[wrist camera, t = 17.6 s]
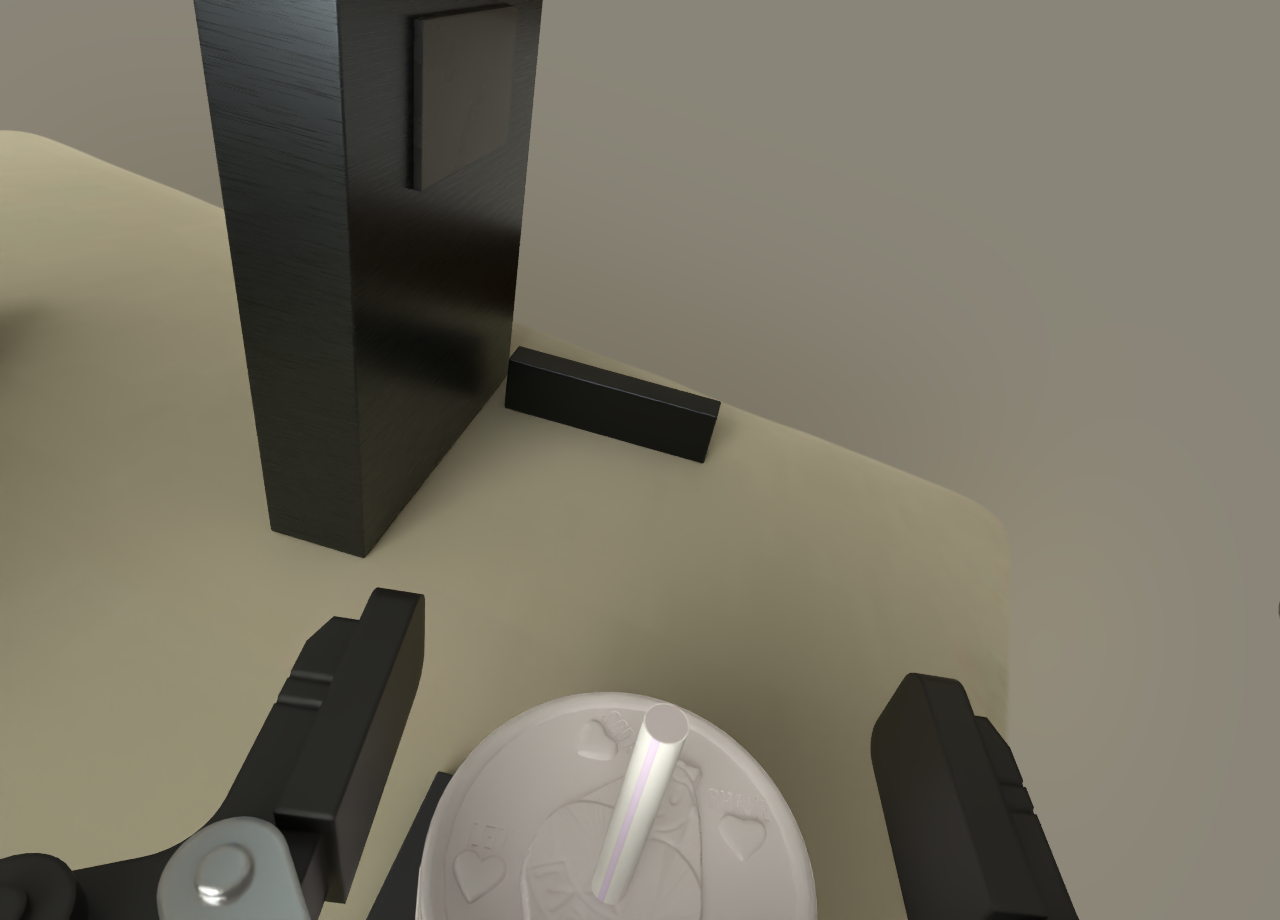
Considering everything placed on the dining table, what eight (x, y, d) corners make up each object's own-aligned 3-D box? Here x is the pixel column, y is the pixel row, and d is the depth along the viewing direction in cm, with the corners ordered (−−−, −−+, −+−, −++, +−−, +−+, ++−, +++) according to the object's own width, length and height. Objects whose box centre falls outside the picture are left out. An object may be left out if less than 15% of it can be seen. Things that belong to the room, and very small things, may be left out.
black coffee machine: (711, 431, 41) (879, -131, 27) (656, 647, 28) (924, -217, 14) (441, 356, 42) (460, -226, 28) (270, 531, 29) (134, -389, 15)
